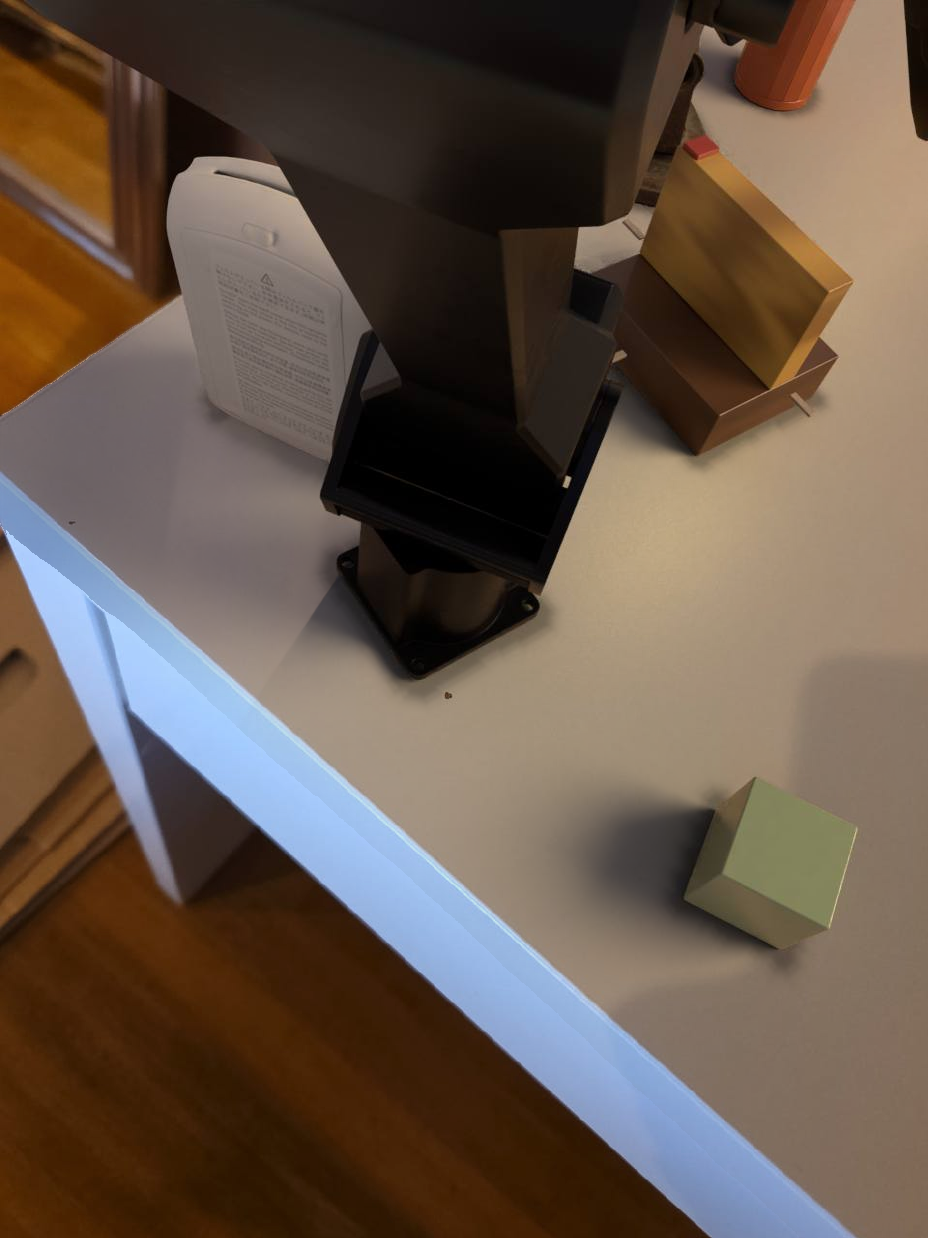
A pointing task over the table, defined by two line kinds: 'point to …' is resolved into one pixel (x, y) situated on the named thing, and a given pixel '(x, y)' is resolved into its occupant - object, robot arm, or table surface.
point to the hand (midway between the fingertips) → (828, 82)
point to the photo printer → (263, 301)
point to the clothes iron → (674, 133)
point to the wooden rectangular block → (741, 263)
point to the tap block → (696, 362)
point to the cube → (772, 865)
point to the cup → (792, 56)
